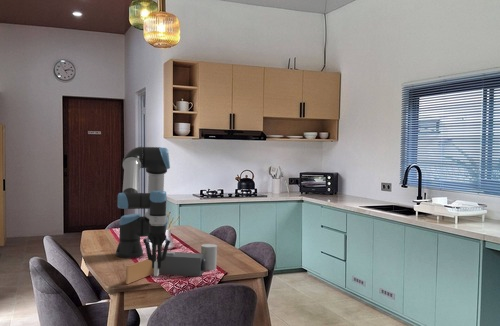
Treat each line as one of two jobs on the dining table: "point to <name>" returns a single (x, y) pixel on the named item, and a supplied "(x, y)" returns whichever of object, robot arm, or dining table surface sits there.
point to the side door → (138, 270)
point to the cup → (210, 255)
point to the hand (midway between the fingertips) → (156, 275)
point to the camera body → (183, 264)
